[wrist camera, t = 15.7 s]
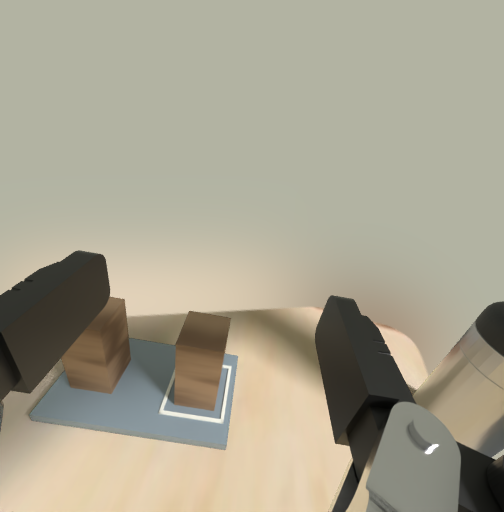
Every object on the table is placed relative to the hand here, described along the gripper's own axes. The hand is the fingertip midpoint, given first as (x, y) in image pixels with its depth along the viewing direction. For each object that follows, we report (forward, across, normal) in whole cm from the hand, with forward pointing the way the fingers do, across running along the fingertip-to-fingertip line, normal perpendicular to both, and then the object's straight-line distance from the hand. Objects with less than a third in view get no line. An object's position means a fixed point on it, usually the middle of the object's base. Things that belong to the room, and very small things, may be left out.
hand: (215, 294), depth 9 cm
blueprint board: (+13, +8, +28) cm, 32 cm away
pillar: (+13, +2, +27) cm, 30 cm away
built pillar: (+13, +15, +27) cm, 33 cm away
